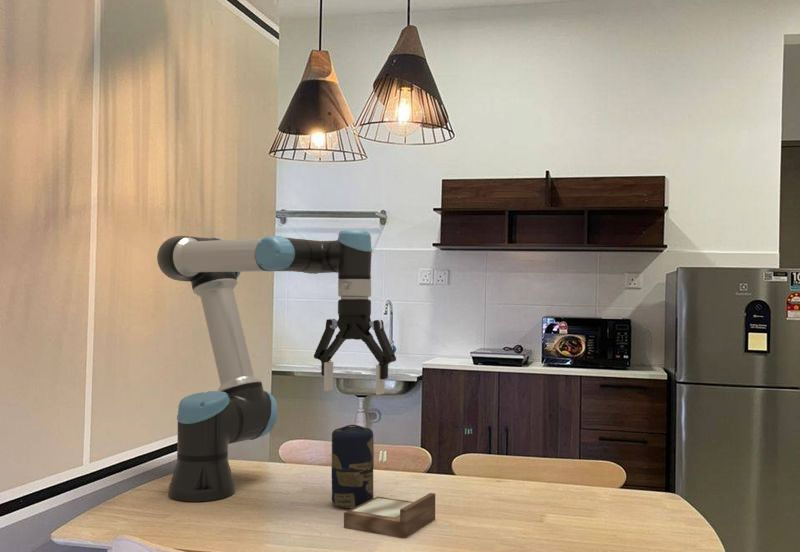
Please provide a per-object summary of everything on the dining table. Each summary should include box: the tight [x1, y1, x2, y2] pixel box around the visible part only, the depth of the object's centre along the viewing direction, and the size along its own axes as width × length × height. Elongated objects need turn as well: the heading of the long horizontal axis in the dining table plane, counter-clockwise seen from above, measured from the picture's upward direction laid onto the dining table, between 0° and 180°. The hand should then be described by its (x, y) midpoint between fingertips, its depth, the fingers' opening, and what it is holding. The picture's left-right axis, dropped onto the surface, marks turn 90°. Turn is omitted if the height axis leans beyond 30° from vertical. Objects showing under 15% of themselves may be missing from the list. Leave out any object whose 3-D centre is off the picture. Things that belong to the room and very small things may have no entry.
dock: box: [343, 492, 436, 539], centre depth 153 cm, size 14×14×5 cm
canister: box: [331, 424, 375, 509], centre depth 167 cm, size 10×10×18 cm
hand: (353, 392), depth 167 cm, fingers open, 13 cm apart
